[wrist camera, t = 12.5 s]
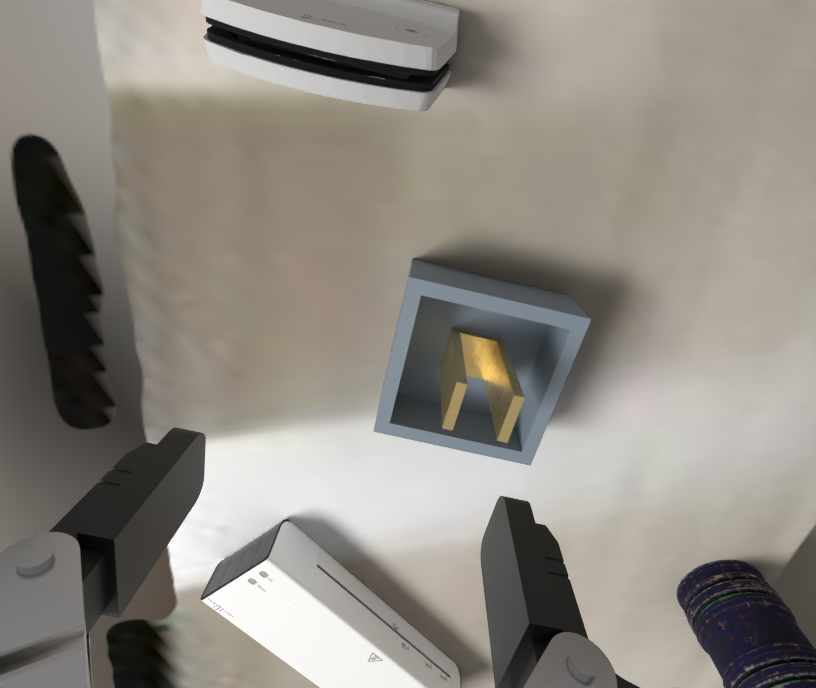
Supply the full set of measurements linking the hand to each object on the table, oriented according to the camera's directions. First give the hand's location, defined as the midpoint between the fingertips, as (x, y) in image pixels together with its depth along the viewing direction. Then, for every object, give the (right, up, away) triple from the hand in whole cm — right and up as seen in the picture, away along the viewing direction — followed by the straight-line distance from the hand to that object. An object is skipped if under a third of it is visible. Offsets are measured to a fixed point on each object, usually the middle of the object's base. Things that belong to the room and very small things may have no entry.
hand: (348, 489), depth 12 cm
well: (+8, +3, +31) cm, 32 cm away
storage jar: (+39, -25, +42) cm, 62 cm away
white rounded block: (-3, +26, +22) cm, 34 cm away
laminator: (-7, -31, +48) cm, 58 cm away
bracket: (+8, +3, +30) cm, 31 cm away
